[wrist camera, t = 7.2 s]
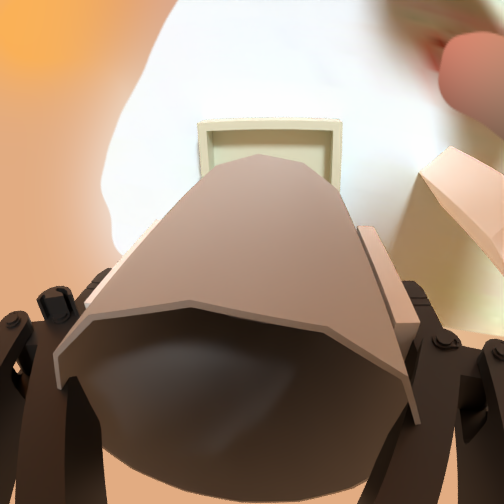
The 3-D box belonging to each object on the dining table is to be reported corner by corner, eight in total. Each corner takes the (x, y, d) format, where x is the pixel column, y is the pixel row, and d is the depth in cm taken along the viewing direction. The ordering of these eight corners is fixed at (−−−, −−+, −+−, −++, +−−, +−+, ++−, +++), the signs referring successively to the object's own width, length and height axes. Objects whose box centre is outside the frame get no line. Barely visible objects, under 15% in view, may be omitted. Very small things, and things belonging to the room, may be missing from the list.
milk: (418, 171, 37) (507, 258, 18) (450, 144, 34) (559, 209, 15) (440, 206, 38) (524, 306, 19) (471, 180, 36) (571, 263, 16)
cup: (209, 326, 18) (156, 493, 9) (149, 186, 14) (-5, 325, 5) (364, 299, 16) (404, 486, 7) (336, 136, 12) (439, 249, 4)
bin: (205, 119, 37) (197, 123, 34) (338, 119, 35) (342, 122, 32) (215, 236, 45) (208, 248, 42) (332, 240, 43) (335, 252, 40)
